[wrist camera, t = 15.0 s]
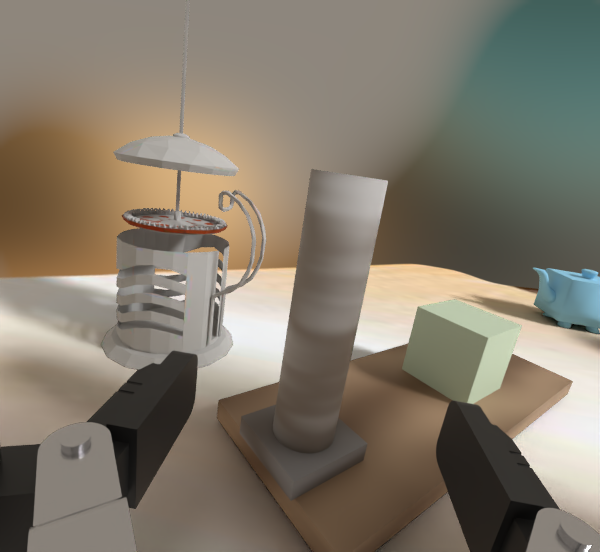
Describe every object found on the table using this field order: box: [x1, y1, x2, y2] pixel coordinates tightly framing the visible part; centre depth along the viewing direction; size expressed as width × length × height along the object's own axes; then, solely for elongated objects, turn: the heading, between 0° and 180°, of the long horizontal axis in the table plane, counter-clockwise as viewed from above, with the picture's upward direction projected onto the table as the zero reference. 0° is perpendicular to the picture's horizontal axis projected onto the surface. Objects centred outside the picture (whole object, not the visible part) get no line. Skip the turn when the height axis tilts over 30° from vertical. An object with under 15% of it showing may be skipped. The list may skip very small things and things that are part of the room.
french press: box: [101, 0, 266, 370], centre depth 25 cm, size 10×12×25 cm
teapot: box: [533, 268, 600, 334], centre depth 47 cm, size 12×6×8 cm, turn 83°
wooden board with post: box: [217, 169, 573, 552], centre depth 23 cm, size 10×26×14 cm, turn 127°
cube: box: [402, 299, 522, 404], centre depth 26 cm, size 5×5×5 cm
